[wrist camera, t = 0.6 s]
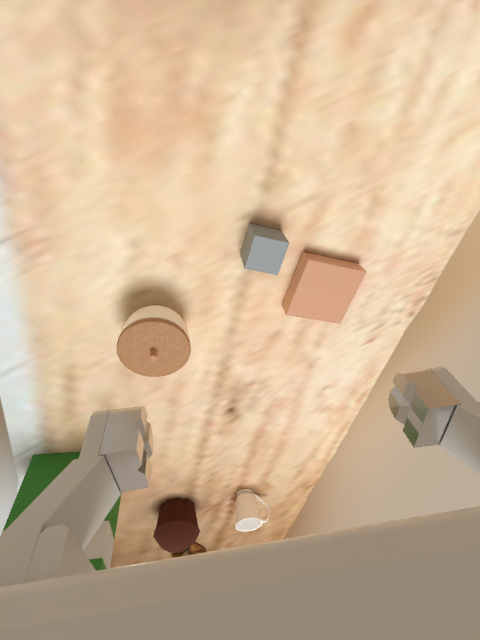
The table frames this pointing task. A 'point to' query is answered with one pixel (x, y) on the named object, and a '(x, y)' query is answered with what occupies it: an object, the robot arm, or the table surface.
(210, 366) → the table surface
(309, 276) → the pedestal
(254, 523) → the cup
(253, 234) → the cube
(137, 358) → the lidded jar
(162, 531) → the muffin
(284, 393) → the table surface
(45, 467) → the hardback book
